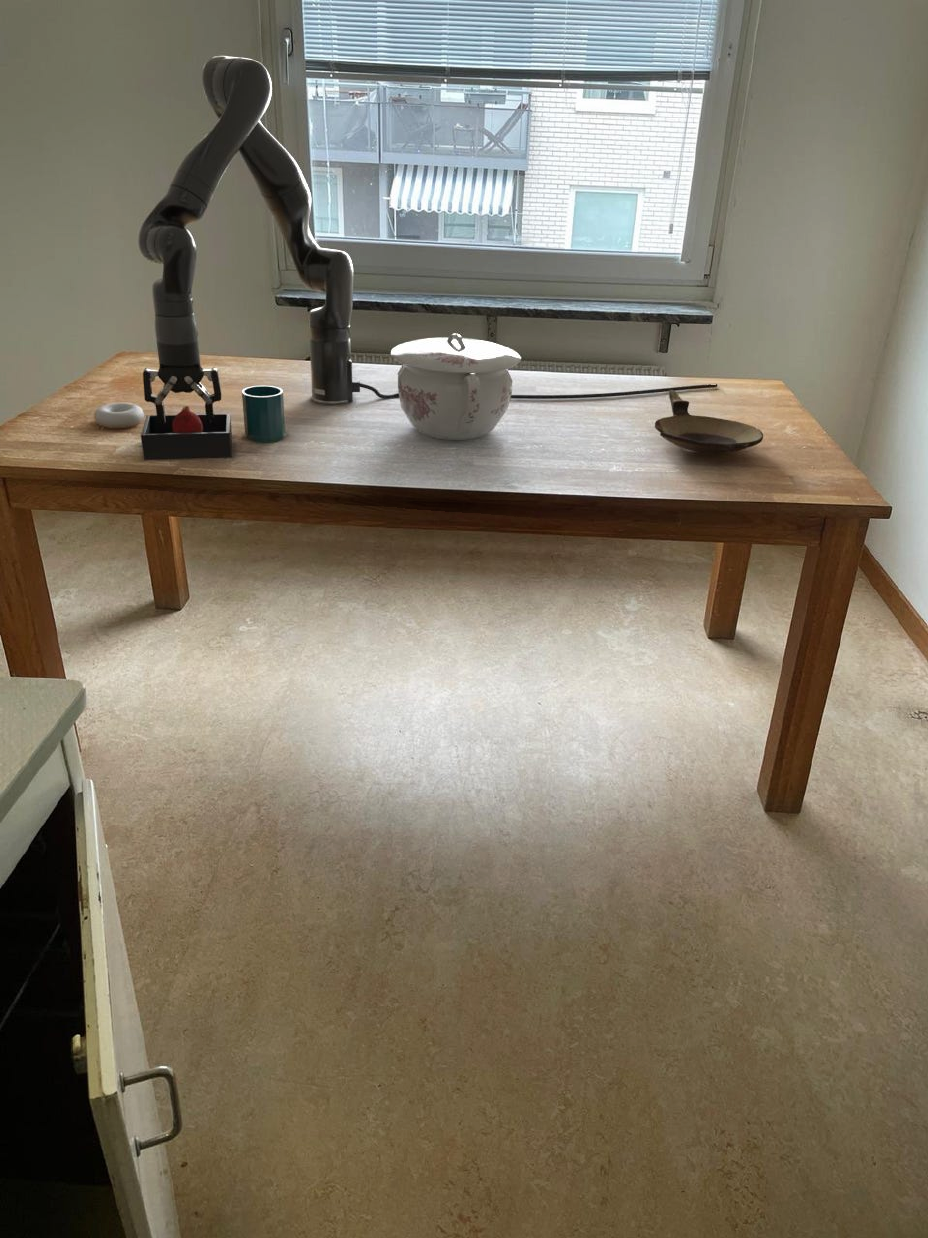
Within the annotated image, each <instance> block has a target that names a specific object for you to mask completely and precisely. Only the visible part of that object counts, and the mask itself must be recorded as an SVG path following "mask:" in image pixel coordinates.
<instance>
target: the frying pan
mask: <svg viewBox="0 0 928 1238" xmlns="http://www.w3.org/2000/svg"><path fill="white" fill-rule="evenodd" d="M668 397H669V402H670V406H671V412H672V415H671V416H666V417H662V418H659V419H657V420H655V422H654V429H655V430H656V431H658V432H659V435H660V437H662V438H663V439H664V440H666V441H668V442H669V443H671V444H673V445H675V446H678V447H680V448H683V449H685V450H688V451H690V452H695V453H700V454H725V453H732V452H733V453H734V452H738V451H742V450H745V449H749V448H751V447H754V446H757V445H758V444H760V443H762V441H763V439H764V434H763V433H764V432H763V431H762V430H761V429H759V428H756V427H755V426H753V425H750V424H748V423H744V422H740V421H737V420H731V419H725V418H719V417H714V416H713V417H712V416H707V415H703V416H702V415H695V414H690V413H689V406H690V401H689V400H684V399H682V397H680V395H679V394H678V393H677V391H674V390H670V391H668Z"/></svg>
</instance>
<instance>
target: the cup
mask: <svg viewBox="0 0 928 1238" xmlns="http://www.w3.org/2000/svg"><path fill="white" fill-rule="evenodd" d="M241 399H242V401H241V402H242V412H243V424H244V435H245V436H244V437H245V439H246V440H248V441H251V442H254V443H260V444H261V443H262V444H266V443H274V442H275V443H276V442H279V441H282V440H284V439H285V438H286V420H285V419H286V417H285V403H284V390H283V388H281V387H277V386H273V385H253V386H249V387H245V388H243V389H242V390H241Z"/></svg>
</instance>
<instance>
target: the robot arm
mask: <svg viewBox="0 0 928 1238" xmlns="http://www.w3.org/2000/svg"><path fill="white" fill-rule="evenodd" d="M201 79H202V80H201V81H202V88H203V93H204V96H205V98H206V99H207V102H208V105H210V107H211V110H212V111H213V112H214V114H215V116H216V117H217V118H218V121H217V122H216V123H215V124H214V126H213V127H212V128H211V129H210V131H209V132H208V133H206V135H205V136H204V137H202V139H200V141H198V143H196V144H195V145H194V146H193V148H191V149H190V150H189V152H188V153H187V154H186V155H185V156H184V157H183V159H182V161H181V162H180V164H179V165H178V167H177V169H176V171H175V174H174V175H173V178H172V180H171V182H170V183H169V186H168V189H167V191H166V193H165V195H164V196H163V197H162V198H161V199H160V201H159V202H158V203H156V205H155V206H154V208H153V209H152V210H151V211H150V213H149V214H148V215H147V216H146V218H145V219H144V221H143V223H142V225H141V226H140V229H139V232H138V237H137V238H138V241H137V244H138V249H139V251H140V253H141V255H142V256H143V258H145V259H146V260H148V261H149V262H152V263H154V264H160V265H162V277H161V278H159V279H156V280H155V281H153V282H152V286H151V293H152V302H153V309H154V331H155V332H154V333H155V340H156V348H157V356H158V364H159V365H158V366H159V367H158V369H151V368H149V367H145V368H143V372H142V382H143V395H144V401H145V402H146V403H152V404H154V406H155V413H156V415H157V419H158V421H161V424H165V422H166V418H165V415H166V411H165V402H164V401H165V399H166V397H167V396H169V393H170V392H173V393H174V394H181V393H186V394H192V392H195V394H197V396H198V397H200V398H201V399H202V400H203V401H204V410H205V414H206V422H207V423H210V420H213V417H214V414H215V413H214V403H215V402H220V401H222V390H221V389H222V388H221V383H220V375H219V370H218V368H217V367H215V366H214V367H212V368H208V369H204V368H203V367H202V365H201V356H200V347H199V332H198V327H197V326H198V325H197V321H196V318H195V309H194V299H193V291H192V289H193V285H194V280H195V273H196V272H195V271H196V264H197V245H196V242H195V239H194V237H193V236H192V233H191V232H190V231H189V229H188V228H186V227H187V226H188V225H190V224H192V223H196V222H199V221H201V220H202V218H203V217H204V215H205V213H206V211H207V209H208V207H209V206H210V204H211V202H212V201H211V200H212V199H213V196H214V194H215V192H216V189H217V187H218V185H219V184H220V181H221V179H222V177H223V175H224V174H225V172H226V171H227V169H228V167H229V166H230V164H231V162H232V161H233V159H234V158H235V157H236V155H237V153H239V154H240V156H241V158H242V160H243V162H244V164H245V166H246V168H247V169H248V172H249V173H250V175H251V177H252V179H253V181H254V183H255V185H256V187H257V189H258V191H259V193H260V195H261V197H262V199H263V201H264V203H265V205H266V207H267V208H268V210H269V212H270V214H271V216H272V217H273V219H274V221H275V224H276V226H277V228H278V230H279V232H280V235H281V236H282V238H283V240H284V242H285V245H286V247H287V250H288V252H289V254H290V257H291V260H292V262H293V265H294V268H295V270H296V273H297V275H298V277H299V279H300V282H301V283H302V285H303V286H304V287H305V288H306V289H308V290H309V291H312V292H316V293H323V294H325V301H324V304H323V305H322V306H320V307H317V308H313V309H312V310H310V311H309V313H308V328H309V329H308V330H309V333H308V334H309V353H310V376H311V377H310V378H311V380H310V381H311V401H313V402H315V403H317V404H320V405H321V404H322V405H329V406H330V405H332V406H333V405H344V404H348V403H353V402H354V401H353V399H354V398H353V397H354V396H353V394H354V393H361V389H366V390H369V391H372V392H373V393H374V394H375V396H377V397H378V398H380V399H384V400H385V399H386V400H387V399H395V398H399V393H398V392H397V393H394V394H393V393H392V394H382V393H380V392H379V391H378V389H377V388H375V387H374V386H372V385H369V384H365V383H362V382H360V380H359V377H358V376H353V362H352V357H351V356H352V355H351V354H352V353H351V317H352V312H353V305H354V304H353V302H354V266H353V261H352V259H351V257H350V255H349V253H347V252H346V251H343V250H339V249H332V248H327V247H326V248H324V247H320V246H319V244H318V243H317V242H316V241H315V239H314V237H313V234H312V232H311V229H310V226H309V221H310V215H311V208H312V195H311V191H310V187H309V186H308V183H307V181H306V179H305V177H304V175H303V172H302V170H301V169H300V167H299V165H298V163H297V162H296V160H295V159H294V157H293V156H292V155H291V154H290V153H289V152H288V150H287V149H286V148H285V147H284V146H283V145H282V144H281V143H280V142H279V141H278V139H276V138H275V137H274V136H273V135H272V134H271V133H270V132H269V131H268V130H267V128H266V127H265V126H264V125H263V124H262V121H261V119H262V118H263V115H264V114H265V112H266V111H267V109H268V107H269V105H270V102H271V99H272V94H273V93H272V92H273V91H272V90H273V87H272V79H271V77H270V74H269V71H268V70H267V68H266V67H265V66H264V65H263V64H262V62H259V61H257V60H255V59H251V58H246V57H237V56H228V55H217V56H213V57H211V58H208V60H207V61H206V62H205V64H204V65H203V68H202V74H201ZM156 377H158V378H159V379H160V381H161V382H162V383H163V385H162V387H161V389H160V390H159V391H158V393H157V395H156V394H154V393H153V387H152V382H154V381H155V379H156ZM204 377H206V378H207V380H208V381H209V382H212V389H213V393H209V391H208V390H207V389H206V387H205V386H204V385H203V384H202V383H201V381H202V380H203V378H204ZM711 384H712V383H709V384H708V385H707V384H696V385H694V384H693V385H685V386H684V385H683V386H674V387H664V388H663V387H662V388H653V389H642V390H631V391H619V392H604V393H603V392H602V393H582V394H511V397H510V399H512V400H513V399H519V400H523V399H524V400H526V399H527V400H562V399H564V400H565V399H567V400H568V399H594V398H609V397H610V398H611V397H623V396H635V395H645V394H655V393H656V394H657V393H667V392H668V393H669V391H670V390H674V391H676V392H678V391H687V390H698V389H712V388H717V387H718V383H715V384H716V385H711Z"/></svg>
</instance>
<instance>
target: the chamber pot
mask: <svg viewBox="0 0 928 1238" xmlns="http://www.w3.org/2000/svg"><path fill="white" fill-rule="evenodd" d="M390 356H391V357H392V358H393V359H394V360H395V361H396V362H397V363H399V364H402V365H401V367H400V369H399V371H398V372H397V393H399V397H398V398H399V403H400V408H401V409H402V411H403V412H404V414H405V415H406V418H407V419H408V421H409V423H410V424H411V425H412V427H413V428H414V429H416V430H417V432H419V433H422V434H423V435H426V436H428V437H430V438H431V437H432V438H435V439H439V440H444V441H468V440H473V439H476V438H481V437H484V436H486V435H488V434H490V433H491V432H492V431H493V430H494V429H495V428H496V426H497V425H498V424H499V422H500V420H501V419H502V418H503V416H504V415H505V413H507V411H508V409H509V404H510V400H511V398H510V397H511V395H513V394H512V393H513V379H512V378H513V377H511V374H510V372H509V369H512V368H513V367H516V366H518V364H519V363H520V362H521V361H522V357H521V355H520V354H519V352H517V351H515V349H513V348H510V347H508V346H504V345H503V344H499V343H496V342H492V341H488V340H482V339H479V338H467V337H462V336H461V335H460V334H458V333H457V332H455V333H452V334H451V335H449V336H441V337H438V336H437V337H426V338H418V339H414V340H409V341H405V342H403V343H402V342H401V343H399V344H397V345H396V346H394V347H393V348H392V349H391V350H390Z"/></svg>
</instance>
